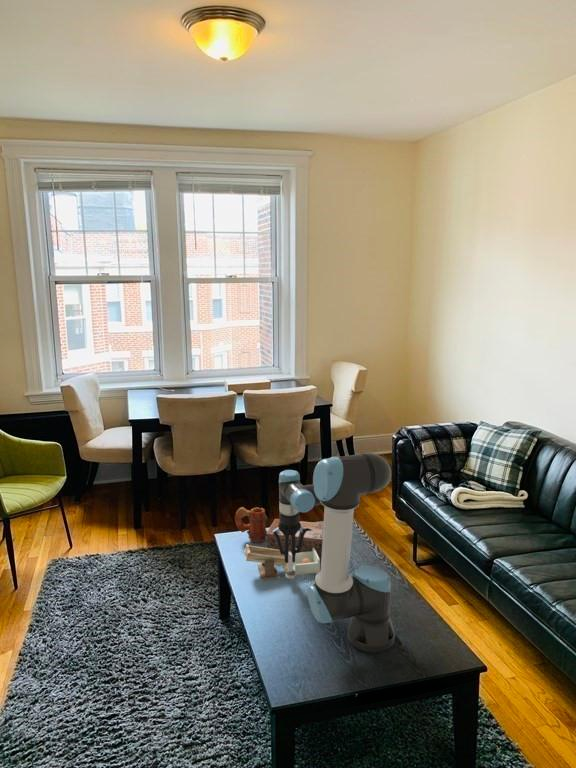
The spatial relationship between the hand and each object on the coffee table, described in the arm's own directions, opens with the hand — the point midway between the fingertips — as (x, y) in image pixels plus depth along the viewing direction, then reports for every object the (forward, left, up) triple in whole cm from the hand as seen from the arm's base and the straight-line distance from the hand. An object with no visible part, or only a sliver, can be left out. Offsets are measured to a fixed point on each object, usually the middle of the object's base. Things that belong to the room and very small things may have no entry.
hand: (289, 569), depth 212 cm
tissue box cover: (+25, -9, -6) cm, 27 cm away
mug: (+38, +10, -6) cm, 39 cm away
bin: (+10, -8, -6) cm, 14 cm away
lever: (+5, +7, 0) cm, 9 cm away
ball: (+10, -9, -3) cm, 13 cm away
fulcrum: (+10, +7, -6) cm, 13 cm away
